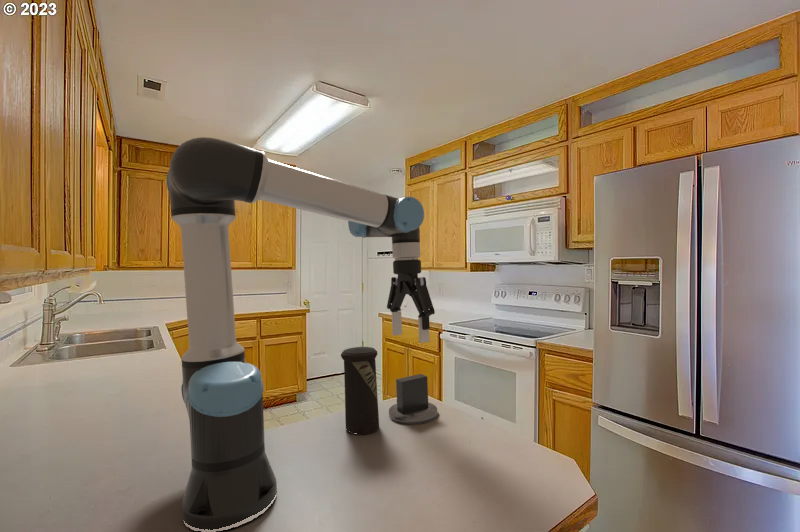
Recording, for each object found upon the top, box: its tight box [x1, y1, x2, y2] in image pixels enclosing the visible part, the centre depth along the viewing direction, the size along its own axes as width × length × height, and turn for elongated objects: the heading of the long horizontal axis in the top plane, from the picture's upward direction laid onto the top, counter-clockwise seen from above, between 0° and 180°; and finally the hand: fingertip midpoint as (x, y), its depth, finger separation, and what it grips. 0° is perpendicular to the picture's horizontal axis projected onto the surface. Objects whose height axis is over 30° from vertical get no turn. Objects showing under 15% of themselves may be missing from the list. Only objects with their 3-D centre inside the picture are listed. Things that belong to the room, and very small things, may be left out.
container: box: [340, 346, 380, 435], centre depth 97 cm, size 9×9×20 cm
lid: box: [388, 373, 438, 426], centre depth 104 cm, size 13×13×10 cm
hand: (410, 338), depth 104 cm, fingers open, 13 cm apart
